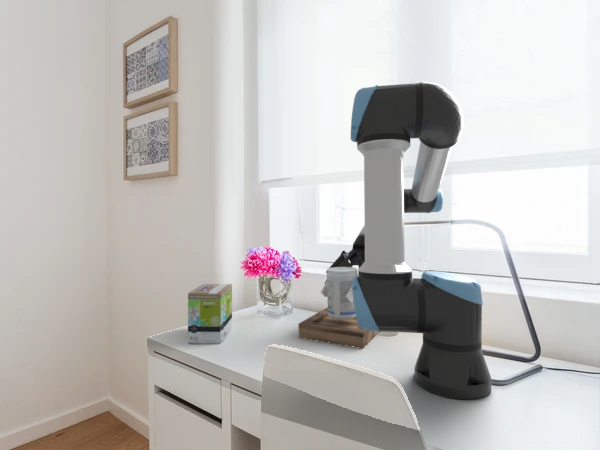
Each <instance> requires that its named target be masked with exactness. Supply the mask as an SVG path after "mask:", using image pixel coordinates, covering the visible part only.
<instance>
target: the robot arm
mask: <svg viewBox="0 0 600 450" xmlns="http://www.w3.org/2000/svg"><path fill="white" fill-rule="evenodd" d="M350 120H351V121H350V123H351V125H350V140H351V142H353V143H356V149H357V151H358V152H359V153H361V155H363V174H364V175H363V181H364V182H363V186H364V189H363V191H364V192H363V193H364V194H363V195H364V199H363V200H364V203H363V205H364V225H363V227H362V229H360V231H359V233H358V235H357V237H356V238H355V240H354V242H353V243H352V248H351V250H350V251H349V252H348V251H347V252H346V250H342V251H341V253H340V254H339V256H338V257H337V258H336V260H334V262H333V263H332V264H331V265H330V267H328V268H332V267H353V266H358V269H357V273H358V277H357V276H355V277H353V278H352V286H351V288H350V290H349V291H348V293H347V295H346V299H347V300H348V301H349V302H350V303H352V301H354V308H355V314H356V319H357V323H358V325H359V326H360V328H362V329H364V330H371V331H378V332H379V333H381V332H385V333H386V332H387V333H389V332H390V333H409V334H411V333H413V334H422V345H421V348H420V350H419V353H418V356H417V359H416V362H415V365H414V380H415V382H416V383H417V385H419V386H420V387H421V388H422V389H424V390H425V391H428V392H430V393H432V394H434V395H439V396H442V397H446V398H449V399H456V400H476V399H480V398H481V399H482V398H484V397H487V396H488V395H489V394H490V393H491V391H492V376H491V373H490V370H489V367H488V364H487V361H486V359H485V356H484V353H483V345H482V338H483V336H482V335H483V332H482V331H483V328H482V327H483V322H482V319H483V317H482V315H483V311H482V310H483V309H482V308H483V307H482V306H483V304H484V302H483V297H482V287H481V285H480V283H479V282H478V281H477V280H475V279H473V278H471V277H468V276H464V275H462V274H461V275H460V274H457V273H450V272H445V271H438V270H437V271H436V270H427V271H426V270H425V271H423V272H422V274H421V276H420V278H419V277H413V270H412V268H410V266H409V265H408V264H407V263H406V261H405V214H406V213H407V214H408V213H409V214H412V213H413V214H414V213H415V214H416V213H417V214H418V213H420V214H421V213H423V214H425V213H426V214H430V213H439V212H441V210H442V208H443V205H444V204H443V203H444V194H443V191H442V189H441V188H440V187H441V184H442V180H443V178H444V175H445V171H446V168H447V164H448V162H449V158H450V157H451V153H452V149H453V147H454V146H455V145H457V144H458V142H459V141H460V139H461V136H462V133H463V129H464V114H463V111H462V108H461V105H460V103H459V101H458V100H457V98H456V97H455V95H454V94H453V93H452V92H451V91H449V90H448V88H446V87H444V86H442V85H440V84H439V83H435V82H431V81H421V82H414V83H413V82H412V83H402V84H388V85H387V84H386V85H378V84H377V85H374V86H370V87H367V86H366V87H361V88H360V89H358V90H357V92H356V93H355V95H354V98H353V105H352V111H351V118H350ZM411 139H418V140H419V142H420V144H419V148H418V153H417V159H416V164H415V169H414V175H413V180H412V186H411V188H405V187H404V185H405V184H404V182H405V181H404V176H405V175H404V155H405V152H406V151H407V150H408V149H409V148H410V147H411ZM325 273H326V274H327V270H326V271H325ZM320 293H321V294H322V296H323V297H325V298H327V279H326V280H325V282H324V285H323V287H322V289H321V290H320Z"/></svg>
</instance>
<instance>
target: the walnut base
mask: <svg viewBox="0 0 600 450" xmlns="http://www.w3.org/2000/svg"><path fill="white" fill-rule="evenodd" d="M379 334H380V332H378V331H371V330H364V329H362V328H360V326H359V325H358V323H357V319H356V318H354V319H349V320H339V319H334V318H331V317H330V316H329V315H328V307H325V308H324V309H322V310H321V311H318V312H317V313H315V314H313V315H312V316H309V317H308V318H306V319H305V320H302V321H301V322H299V323H298V338H299V337H300V339H304V338H306V339H305V340H310V339H312V340H311V341H315V340H318V341H317V342H321V341H324V342H323V343H327V342H330V343H329V344H333V343H335V344H334V345H338V344H341V345H340V346H344V345H348V346H347V347H350V346H354V347H353V348H356V347H359V348H358V349H362V348H364V347H365V346H366V345H367V344H368V343H369V342H370V341H371V340H372V339H373V338H374V337H375V336H376V337H377V335H379ZM376 337H375V338H376ZM375 338H374V339H375ZM372 341H373V340H372ZM372 341H371V342H372ZM371 342H370V343H371ZM370 343H369V344H370ZM369 344H368V345H369ZM368 345H367V346H368ZM367 346H366V347H367ZM366 347H365V348H366ZM365 348H364V349H365Z"/></svg>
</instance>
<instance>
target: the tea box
mask: <svg viewBox="0 0 600 450" xmlns="http://www.w3.org/2000/svg"><path fill="white" fill-rule="evenodd" d="M232 328H233V285H232V284H231V283H224V284H223V283H221V284H220V283H218V284H217V283H210V284H209V283H206V284H205V283H203V284H201V285H200V286H198V287H196V288H195V289H193V290H191V291H189V292H188V293H187V343H188V344H195V345H197V344H202V345H203V344H204V345H205V344H207V345H208V344H209V345H210V344H221V343H222V341H224V338H226V336H227V334H229V332H230V331H231V329H232Z"/></svg>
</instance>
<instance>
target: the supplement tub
mask: <svg viewBox="0 0 600 450" xmlns="http://www.w3.org/2000/svg"><path fill="white" fill-rule="evenodd" d="M326 271H327V273H326V280H327V297H326V298H327V301H326V302H327V308H328V315H329V316H330V317H331V318H334V319H339V320H349V319H354V318H356V314H355V308H354V301H352V303H350V302H349V301H348V300H347V299H346V295H347V293H348V291H349V290H350V288H351V286H352V278H353V277H355V276H357V277H358V269H357V267H353V266H352V267H332V268H329V267H328V268H327V269H326Z"/></svg>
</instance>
